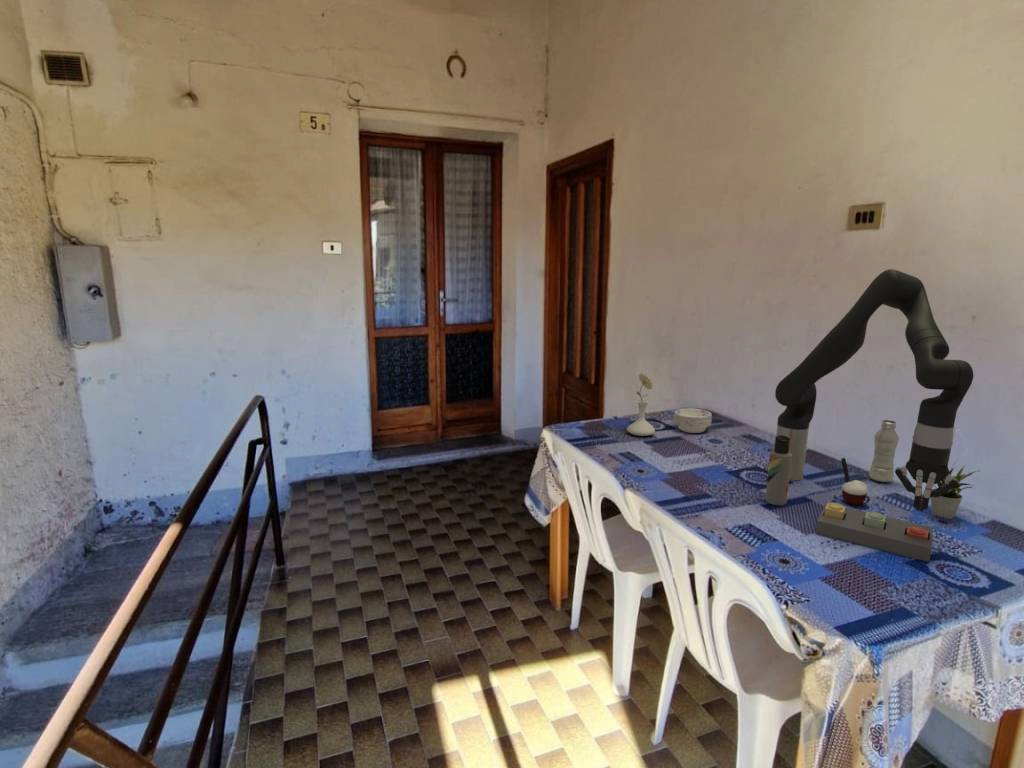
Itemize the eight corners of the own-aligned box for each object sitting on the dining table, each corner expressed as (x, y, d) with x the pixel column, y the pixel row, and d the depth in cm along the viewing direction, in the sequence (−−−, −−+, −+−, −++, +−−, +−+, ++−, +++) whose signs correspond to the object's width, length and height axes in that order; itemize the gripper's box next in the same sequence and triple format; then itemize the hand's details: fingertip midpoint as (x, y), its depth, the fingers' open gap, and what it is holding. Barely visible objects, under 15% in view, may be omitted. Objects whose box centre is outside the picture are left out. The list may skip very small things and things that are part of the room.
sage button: (863, 528, 145) (865, 515, 144) (865, 522, 148) (867, 509, 147) (882, 532, 142) (884, 519, 141) (884, 526, 145) (886, 513, 145)
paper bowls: (667, 425, 245) (668, 408, 244) (701, 424, 247) (702, 407, 245) (681, 436, 231) (682, 417, 229) (717, 435, 232) (718, 416, 231)
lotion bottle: (785, 499, 168) (792, 435, 164) (787, 507, 163) (795, 440, 159) (764, 497, 170) (771, 433, 166) (766, 504, 165) (773, 438, 161)
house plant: (895, 506, 164) (903, 453, 160) (926, 499, 169) (935, 447, 165) (948, 527, 151) (958, 469, 147) (980, 519, 156) (991, 463, 152)
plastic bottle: (896, 485, 180) (905, 424, 176) (872, 483, 181) (881, 423, 177) (887, 478, 186) (896, 419, 182) (864, 476, 187) (873, 418, 183)
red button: (905, 543, 140) (907, 530, 139) (906, 537, 143) (908, 524, 142) (925, 548, 137) (928, 535, 136) (926, 542, 140) (928, 528, 140)
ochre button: (823, 518, 150) (825, 505, 149) (826, 513, 153) (828, 500, 152) (841, 523, 147) (843, 510, 147) (844, 517, 151) (846, 504, 150)
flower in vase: (658, 438, 227) (661, 377, 222) (629, 438, 227) (632, 377, 222) (650, 429, 240) (654, 371, 235) (623, 428, 240) (626, 371, 235)
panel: (815, 533, 147) (817, 520, 146) (824, 514, 158) (826, 503, 157) (929, 562, 133) (931, 548, 132) (930, 539, 144) (932, 527, 143)
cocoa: (871, 509, 163) (880, 470, 160) (850, 509, 162) (858, 470, 159) (851, 495, 172) (859, 458, 169) (831, 494, 172) (839, 457, 169)
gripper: (966, 444, 134) (953, 512, 137) (899, 433, 141) (888, 498, 145) (967, 452, 128) (953, 523, 131) (897, 440, 136) (886, 507, 139)
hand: (919, 509), depth 138 cm, fingers closed
